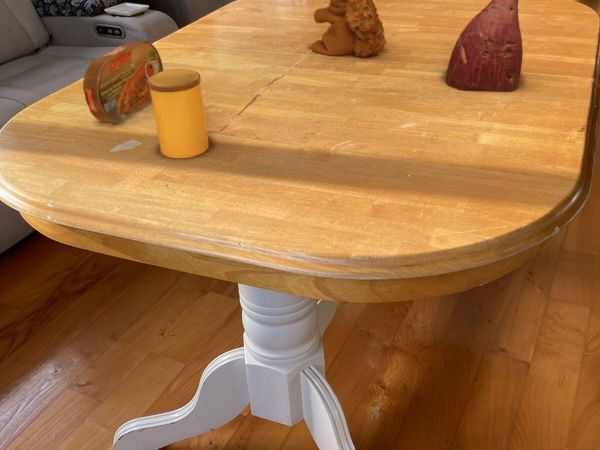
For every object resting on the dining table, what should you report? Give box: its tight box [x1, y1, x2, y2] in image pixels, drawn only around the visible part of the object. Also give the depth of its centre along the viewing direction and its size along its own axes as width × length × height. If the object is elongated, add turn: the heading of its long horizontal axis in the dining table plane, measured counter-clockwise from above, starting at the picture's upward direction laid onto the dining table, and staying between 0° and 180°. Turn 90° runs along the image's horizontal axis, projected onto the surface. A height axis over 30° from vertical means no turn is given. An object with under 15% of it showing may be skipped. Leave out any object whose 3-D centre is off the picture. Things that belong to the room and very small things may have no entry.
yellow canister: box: [147, 68, 210, 159], centre depth 66 cm, size 6×6×9 cm
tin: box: [82, 40, 164, 124], centre depth 78 cm, size 15×3×8 cm, turn 161°
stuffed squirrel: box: [310, 0, 388, 58], centre depth 95 cm, size 10×14×13 cm
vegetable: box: [445, 0, 524, 93], centre depth 82 cm, size 10×10×15 cm
